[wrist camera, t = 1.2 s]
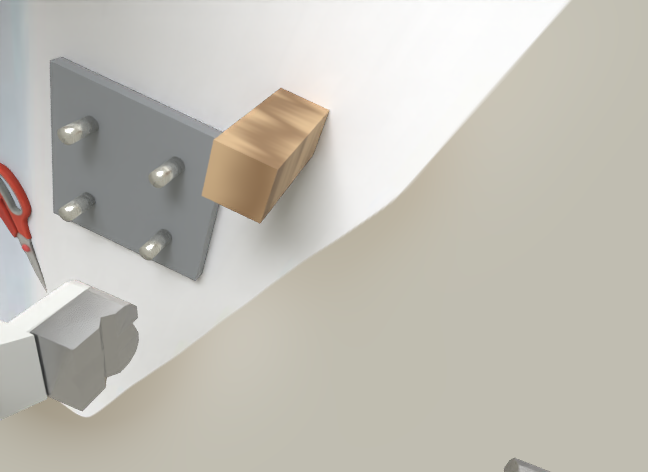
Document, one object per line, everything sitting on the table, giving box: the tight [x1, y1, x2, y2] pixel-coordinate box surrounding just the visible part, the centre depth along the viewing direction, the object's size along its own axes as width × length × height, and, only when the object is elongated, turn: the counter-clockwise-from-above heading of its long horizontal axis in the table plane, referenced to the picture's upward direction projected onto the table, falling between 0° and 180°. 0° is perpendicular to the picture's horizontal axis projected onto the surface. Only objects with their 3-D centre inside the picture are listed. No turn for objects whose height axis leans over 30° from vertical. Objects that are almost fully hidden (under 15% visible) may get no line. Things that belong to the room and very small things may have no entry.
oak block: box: [202, 88, 329, 223], centre depth 36 cm, size 4×4×12 cm
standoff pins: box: [57, 116, 185, 260], centre depth 46 cm, size 11×11×4 cm
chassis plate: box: [50, 57, 223, 281], centre depth 48 cm, size 18×18×2 cm
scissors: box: [0, 163, 47, 292], centre depth 59 cm, size 8×21×2 cm, turn 11°
